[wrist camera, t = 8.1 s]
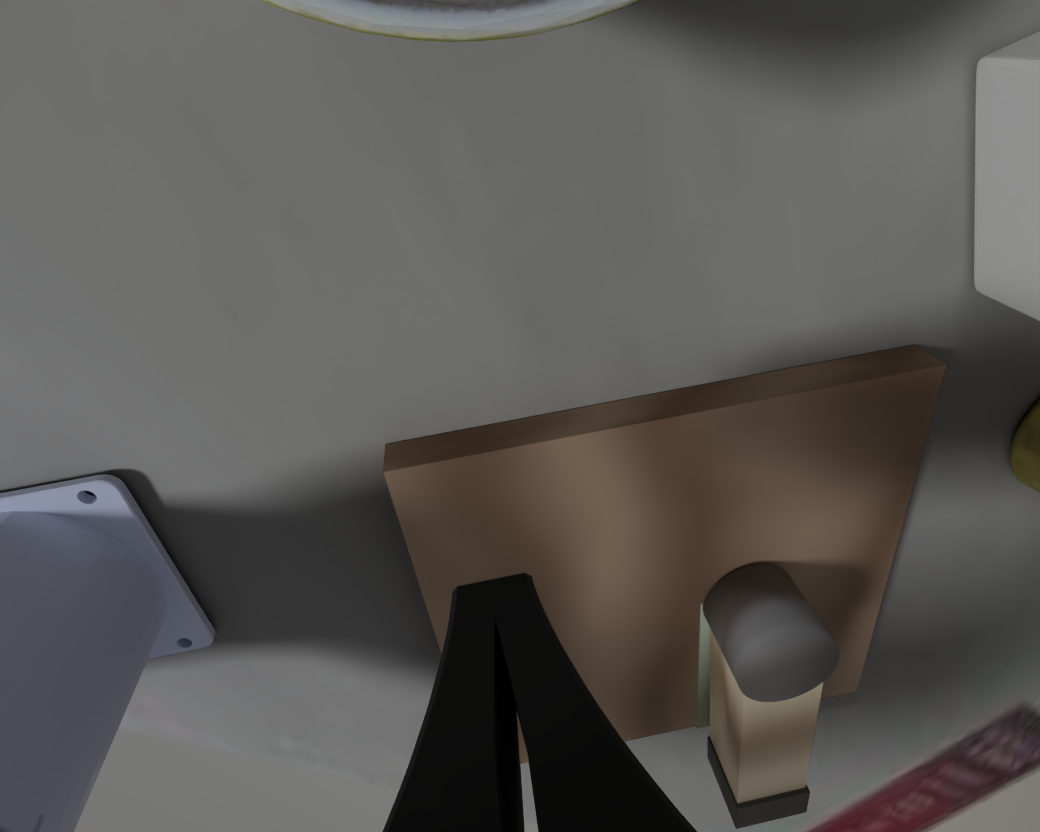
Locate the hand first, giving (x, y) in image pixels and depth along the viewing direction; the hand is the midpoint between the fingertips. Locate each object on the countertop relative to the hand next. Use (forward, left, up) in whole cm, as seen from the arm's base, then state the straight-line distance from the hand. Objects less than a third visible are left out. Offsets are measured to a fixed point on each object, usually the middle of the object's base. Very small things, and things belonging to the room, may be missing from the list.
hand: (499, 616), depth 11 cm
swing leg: (+9, -16, -8) cm, 20 cm away
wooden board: (+6, -11, -9) cm, 16 cm away
